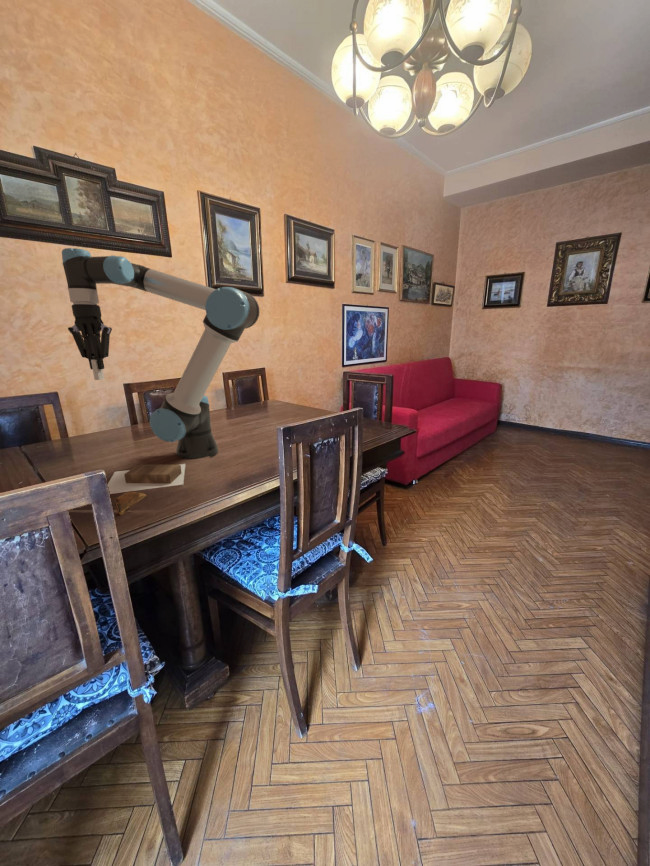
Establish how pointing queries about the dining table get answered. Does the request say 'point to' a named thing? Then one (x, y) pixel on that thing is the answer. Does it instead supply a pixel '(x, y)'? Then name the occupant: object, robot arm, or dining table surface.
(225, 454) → the dining table surface
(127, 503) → the shard
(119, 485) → the white paper sheet
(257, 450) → the dining table surface
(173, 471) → the walnut slab
